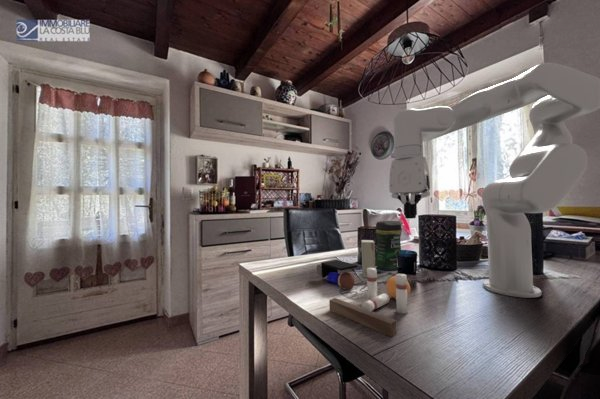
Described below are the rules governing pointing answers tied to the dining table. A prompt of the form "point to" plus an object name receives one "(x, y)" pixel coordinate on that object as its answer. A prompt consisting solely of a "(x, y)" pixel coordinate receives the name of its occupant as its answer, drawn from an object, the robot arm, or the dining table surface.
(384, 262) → the coffee jar
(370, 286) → the pin
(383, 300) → the front pin
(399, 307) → the pin
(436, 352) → the dining table surface
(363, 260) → the skincare box
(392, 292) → the ball
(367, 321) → the wooden bar
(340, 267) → the figurine character
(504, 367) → the dining table surface
